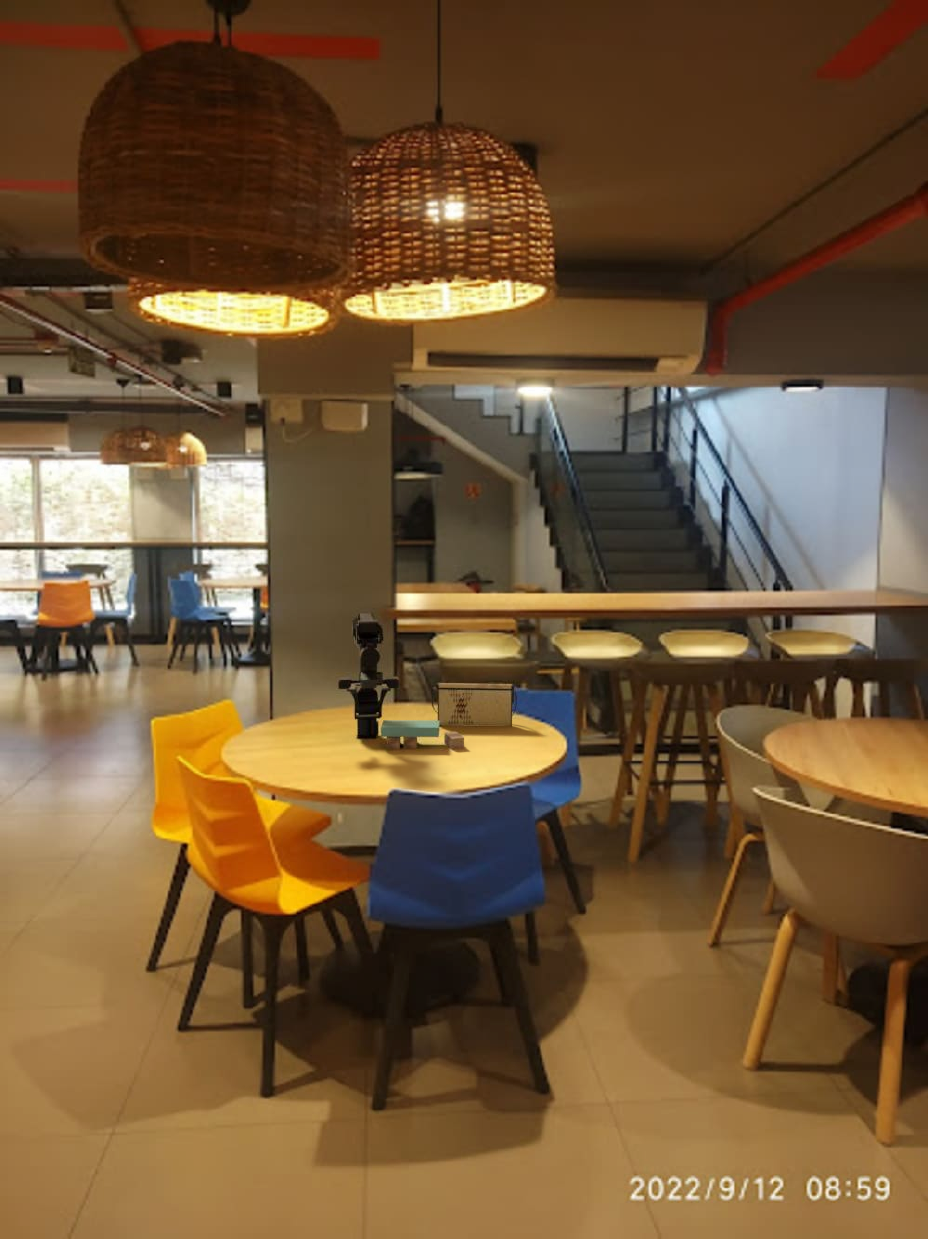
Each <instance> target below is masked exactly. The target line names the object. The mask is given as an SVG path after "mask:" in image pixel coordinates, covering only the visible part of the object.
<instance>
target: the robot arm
mask: <svg viewBox="0 0 928 1239" xmlns="http://www.w3.org/2000/svg"><path fill="white" fill-rule="evenodd" d="M351 637H352V638H353V642H354V645H355V646H356V648H357V649H358V655H359V656H358V657H359V659H358V660H359V673H358V674H359V675H358V676H359V677H358V678H359V679H352V676H340V678H338V681H337V682H338V684H337V685H338V687H337V688H338V690H346V692H350V694H351V696H352V698H353V700H354V702H353V703H354V704H353V717H354V720H356V724H357V730H356V732H357V734H356V738H357V739H376V738H378V736H379V733H380V730H379V724H380V723H379V722H380V721H379V720H377V719H381V718H382V717H383V703H384V700H385V697H386V695H387V694H388V692H391V691H392V689H399V688H400V678H399V677H398V676H396V675H395V676H393V675H392V676H391V675H390V676H385V677H386V679H384V678H383V674H384V673H383V671H379V662H380V659H381V655H380V652H379V645H383V643H382V642H383V641H384V629H383V627H382V624H381V623H379V620H377V619H376V618H375V617H374V613H373V612H372V611H359V612H357V615H356V617H355V618H354V619H353V620H352V621H351ZM359 686H360V688H359V690H358V689H357V687H359ZM378 686H381V687H380V695H379V694H378V691H377V690H376V688H377V687H378ZM379 696H380V697H379Z"/></svg>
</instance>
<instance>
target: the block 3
mask: <svg viewBox="0 0 928 1239" xmlns="http://www.w3.org/2000/svg"><path fill="white" fill-rule="evenodd" d="M443 734H444V736H443V739H444V742H443V743H444V744H445V745H446V746H447V747H448V748H449V749H450V750H464V749H465V737H464V736H462V735H461V734H460V733H459V732H457V731H447V732H444V733H443Z"/></svg>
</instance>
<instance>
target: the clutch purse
mask: <svg viewBox="0 0 928 1239" xmlns="http://www.w3.org/2000/svg"><path fill="white" fill-rule="evenodd" d="M432 689H433V690H432V693H431V707H432V709H433V710H434V711H435V713H437V721H440V722H439V726H478V727H479V726H483V727H485V726H489V727H492V726H493V727H498V726H499V727H513V716H514V715H515V712H516V709H517V706H518V705H517V704H518V697H517V696H518V695H517V692H518V690H516V688H515V683H506V684H505V683H466V682H465V683H463V682H462V683H461V682H459V683H455V682H452V683H451V682H448V683H446V682H445V683H444V682H436V683H435V686H434V687H433V688H432ZM435 693H436V702H437V710H436V709H435V707H434V696H435ZM514 703H515V706H514V710H513V705H514Z"/></svg>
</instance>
